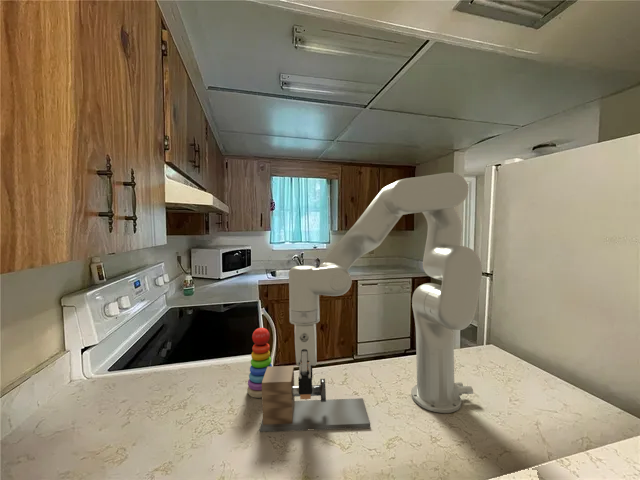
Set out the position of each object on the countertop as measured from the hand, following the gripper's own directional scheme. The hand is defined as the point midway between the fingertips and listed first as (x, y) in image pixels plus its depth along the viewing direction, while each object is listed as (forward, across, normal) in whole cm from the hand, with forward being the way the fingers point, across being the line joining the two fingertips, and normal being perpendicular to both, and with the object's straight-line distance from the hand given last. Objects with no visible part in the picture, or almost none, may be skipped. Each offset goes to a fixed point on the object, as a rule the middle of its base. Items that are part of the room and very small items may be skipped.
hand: (305, 385), depth 69 cm
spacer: (+2, 0, 0) cm, 2 cm away
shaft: (+4, 0, +3) cm, 5 cm away
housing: (+8, 0, -2) cm, 8 cm away
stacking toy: (+8, +12, +14) cm, 20 cm away
